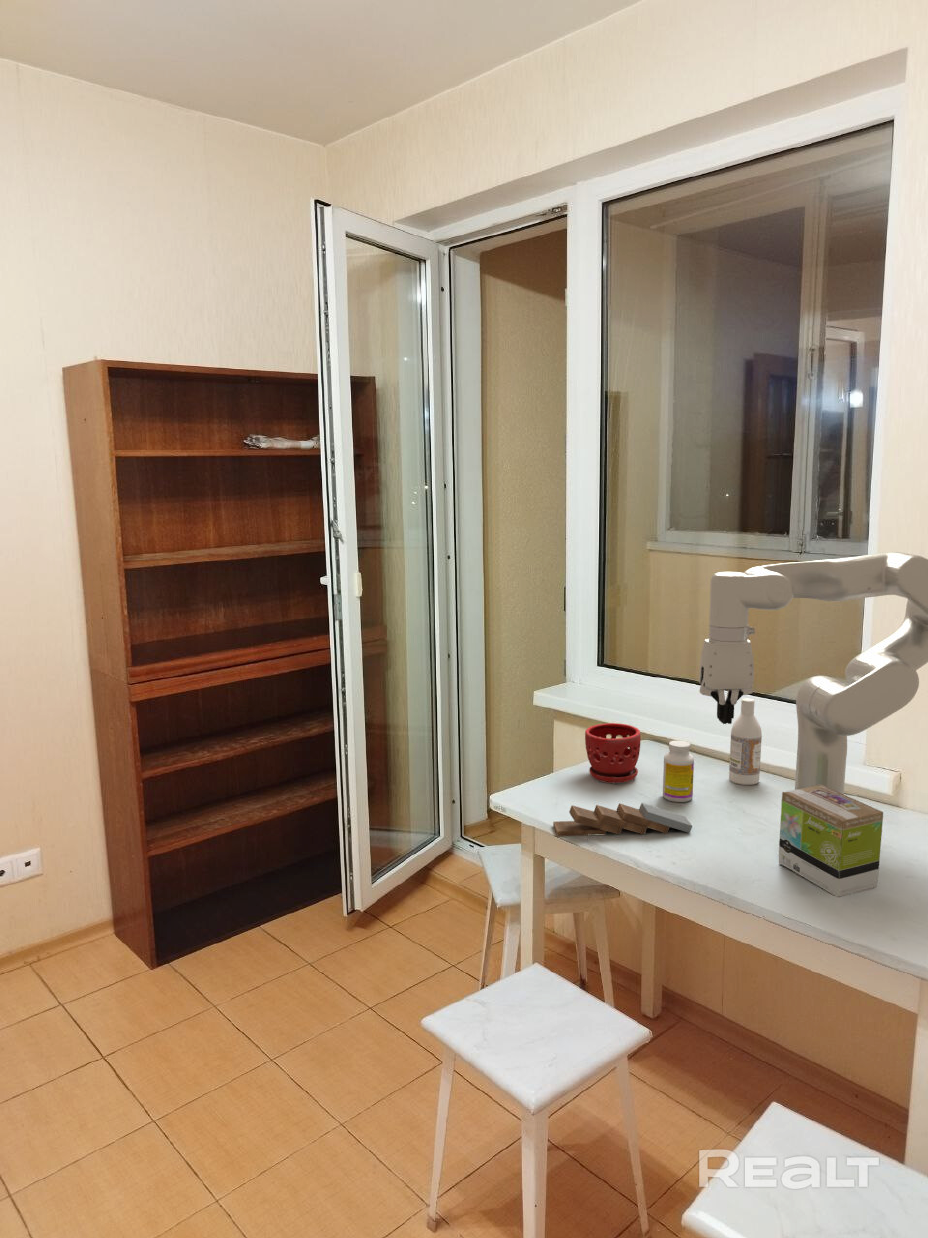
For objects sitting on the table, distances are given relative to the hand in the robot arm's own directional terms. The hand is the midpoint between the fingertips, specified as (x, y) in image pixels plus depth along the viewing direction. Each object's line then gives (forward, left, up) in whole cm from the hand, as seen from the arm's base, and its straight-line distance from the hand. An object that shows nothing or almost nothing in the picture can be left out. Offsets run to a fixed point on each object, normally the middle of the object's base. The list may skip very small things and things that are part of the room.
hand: (725, 722), depth 183 cm
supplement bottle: (+13, -12, -23) cm, 29 cm away
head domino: (+6, +4, -22) cm, 23 cm away
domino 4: (+10, +6, -22) cm, 25 cm away
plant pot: (+31, -17, -23) cm, 42 cm away
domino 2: (+18, +12, -22) cm, 31 cm away
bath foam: (+3, -31, -23) cm, 39 cm away
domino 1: (+21, +14, -23) cm, 33 cm away
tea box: (-23, +12, -23) cm, 35 cm away
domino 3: (+14, +9, -22) cm, 28 cm away
